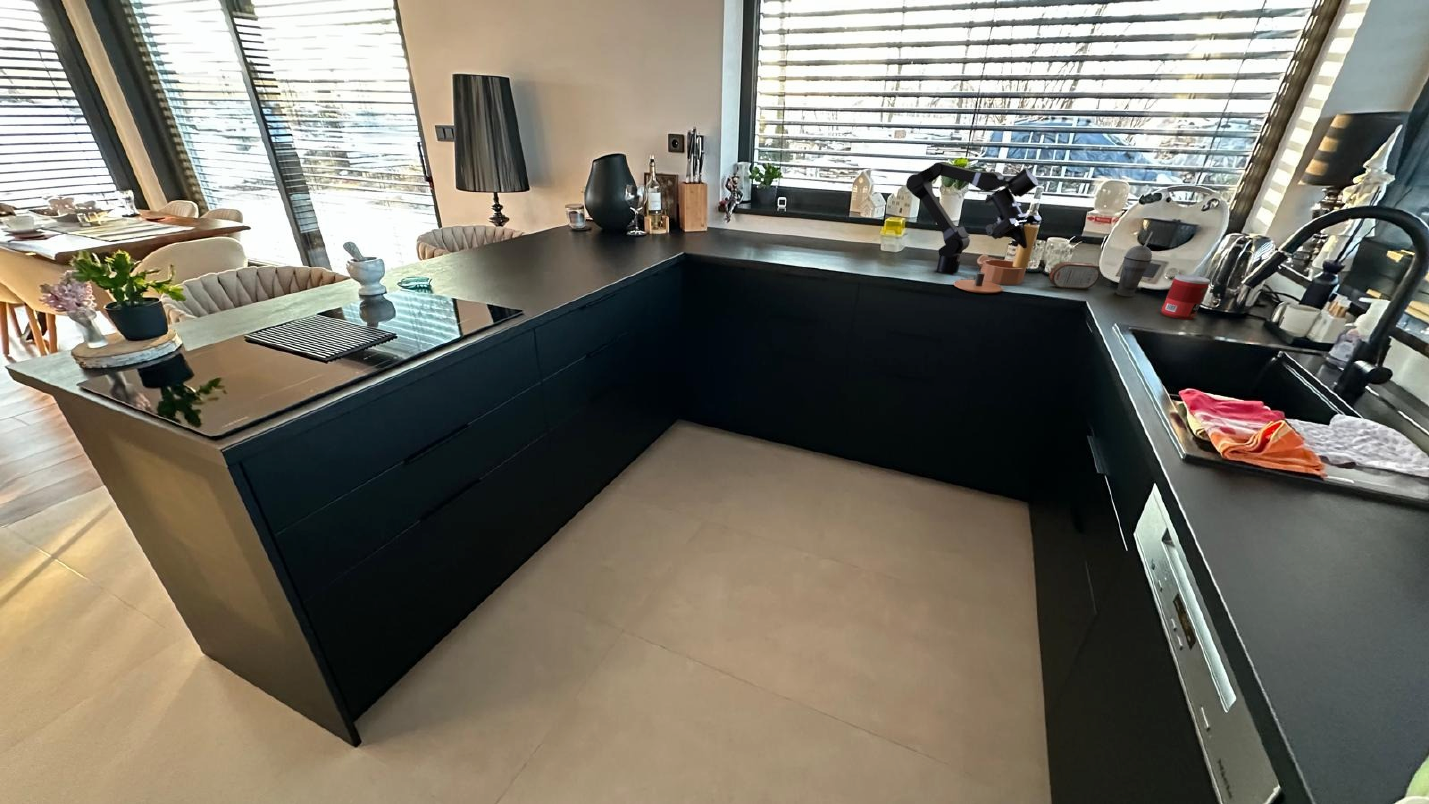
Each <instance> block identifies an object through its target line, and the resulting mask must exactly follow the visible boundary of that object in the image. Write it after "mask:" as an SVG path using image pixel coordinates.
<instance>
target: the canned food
mask: <svg viewBox="0 0 1429 804" xmlns="http://www.w3.org/2000/svg"><path fill="white" fill-rule="evenodd" d="M1210 283H1211V280H1210V279H1208V278H1207V277H1203V276H1199V275H1198V276H1197V275H1192V274H1191V275H1190V274H1175V275H1174V278H1173V280H1172V281H1171V285H1170V287H1169V290H1168V292H1167V294H1166V298H1165V299H1164V302H1163V305H1162V307H1161V314H1162V315H1163V316H1166V317H1169V318H1173V319H1178V320H1179V319H1180V320H1193V319H1194V318H1195V317H1196V315H1197V313H1198V310H1199V308H1200V307H1201V305H1202V301H1203V299H1204V298H1205V295H1206V293H1207V290H1208V288H1209V285H1210Z"/></svg>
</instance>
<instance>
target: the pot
mask: <svg viewBox="0 0 1429 804" xmlns="http://www.w3.org/2000/svg"><path fill="white" fill-rule="evenodd" d="M995 259H996V260H984V261H983V262H982V267H980V271H979V272H981V273H985V276H984V280H983V281H986V282H991V283H994V284H997V285H1005V286H1016V285H1017V286H1018V285H1021V284H1023V281H1024V278H1025V274H1026V270H1027V268H1017V267H1013V266H1012V265H1013V262H1014V260H1009V259H997V258H995Z"/></svg>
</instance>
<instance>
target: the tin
mask: <svg viewBox="0 0 1429 804" xmlns="http://www.w3.org/2000/svg"><path fill="white" fill-rule="evenodd" d="M1100 277H1101V271H1100V269H1099V267H1097V265H1095V264H1094V263H1090V262H1076V261H1062V262H1059V263H1057V264H1055V265H1054V266H1053V267H1052V268H1051V269H1050V271H1049V274H1048V280H1049V282H1050V284H1051V285H1053V286H1055V287H1056V288H1058V289H1059V288H1060V289H1074V290H1075V289H1077V290H1087V289H1090V288H1091V287H1092V288H1093V286H1095V284H1097V282H1098V281H1099V279H1100Z"/></svg>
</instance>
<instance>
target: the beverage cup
mask: <svg viewBox="0 0 1429 804" xmlns="http://www.w3.org/2000/svg"><path fill="white" fill-rule="evenodd" d="M1153 234H1154V231H1150V234H1149V235H1148V237H1147V239H1146V241H1145V244H1144V245H1135V246H1133V247H1131V248H1130V249H1128V250H1127V252H1126V253H1125V254H1124V256H1123V262H1122V267H1121V268H1122V269H1121V273H1120V276H1119V281H1118V285H1117V290H1116V295H1118V296H1121V297H1130V298H1131V297H1133V296H1134V294H1135V292H1136V291H1137V289H1138V287H1139V285H1140V283H1141V281H1142V278H1143V277H1144V274H1145V272H1146V270H1147V268H1148V267H1149V266H1150V263H1151V262H1152V260H1153V259H1152V258H1153V253H1152V252H1153V251H1152V250H1151V249H1150V248H1149V247H1148V246H1147V245H1148V243H1149V241H1150V239H1151V237H1152V235H1153Z"/></svg>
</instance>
